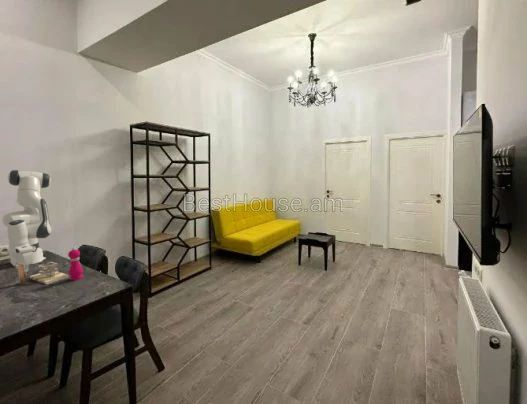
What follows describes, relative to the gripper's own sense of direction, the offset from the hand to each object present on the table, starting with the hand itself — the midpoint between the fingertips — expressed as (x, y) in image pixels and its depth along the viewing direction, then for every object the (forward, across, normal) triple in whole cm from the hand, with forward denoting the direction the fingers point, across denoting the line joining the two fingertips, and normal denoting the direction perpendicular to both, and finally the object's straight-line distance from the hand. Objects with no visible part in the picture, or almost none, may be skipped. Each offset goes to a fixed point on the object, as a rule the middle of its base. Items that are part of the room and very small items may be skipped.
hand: (22, 269), depth 159 cm
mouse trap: (+8, +5, +11) cm, 15 cm away
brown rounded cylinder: (+8, 0, 0) cm, 8 cm away
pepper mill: (+8, +22, +18) cm, 30 cm away
